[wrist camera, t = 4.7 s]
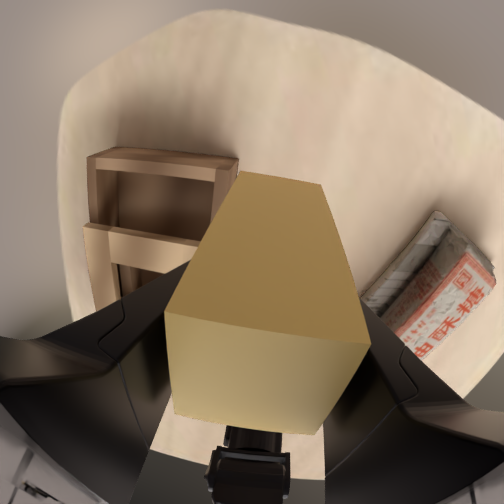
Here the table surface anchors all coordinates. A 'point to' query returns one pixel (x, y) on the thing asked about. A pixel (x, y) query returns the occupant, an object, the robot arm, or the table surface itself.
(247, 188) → the yellow rectangular block
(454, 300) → the packaged product
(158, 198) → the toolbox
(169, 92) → the table surface
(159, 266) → the lid
